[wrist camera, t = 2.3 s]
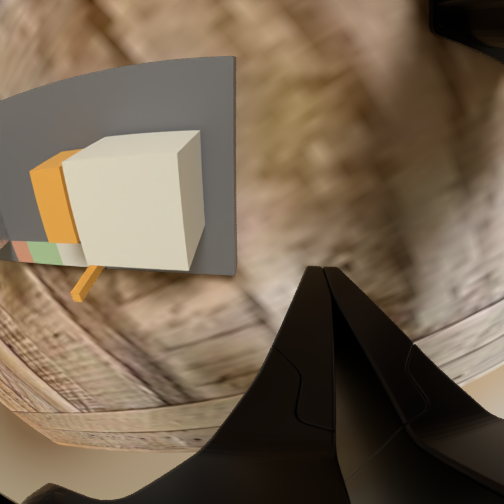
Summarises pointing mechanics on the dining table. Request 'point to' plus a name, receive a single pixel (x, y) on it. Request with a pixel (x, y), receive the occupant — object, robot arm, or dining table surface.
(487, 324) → the dining table surface
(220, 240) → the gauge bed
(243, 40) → the dining table surface
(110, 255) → the block
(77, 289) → the needle rider
